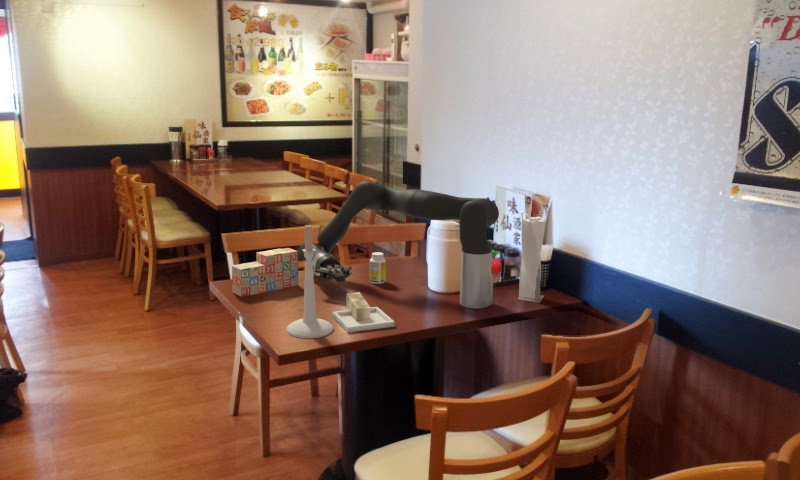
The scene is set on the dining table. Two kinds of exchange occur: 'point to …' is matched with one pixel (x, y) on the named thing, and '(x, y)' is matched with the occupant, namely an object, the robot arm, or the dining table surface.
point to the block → (358, 306)
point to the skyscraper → (531, 259)
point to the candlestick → (309, 300)
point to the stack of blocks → (266, 272)
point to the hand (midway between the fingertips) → (341, 279)
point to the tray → (351, 325)
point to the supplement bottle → (377, 268)
